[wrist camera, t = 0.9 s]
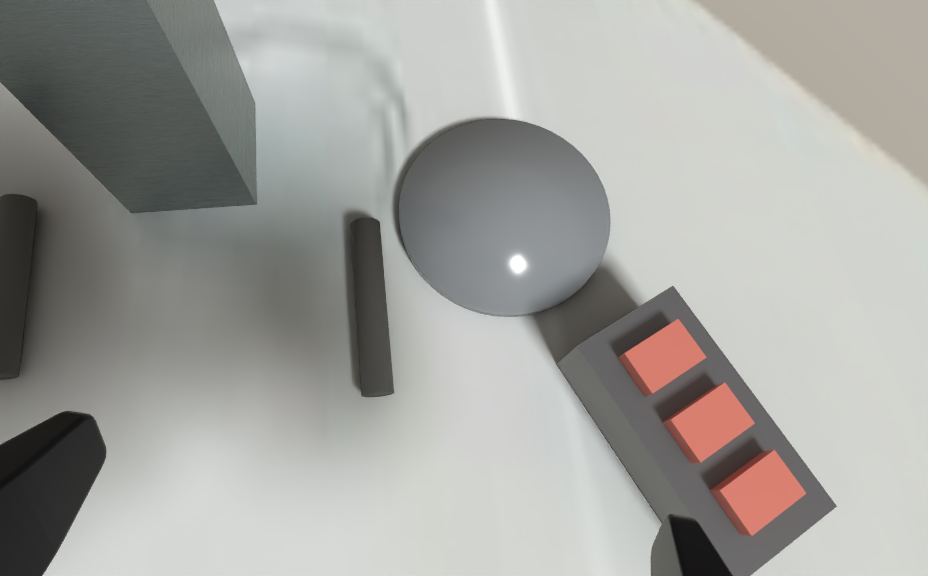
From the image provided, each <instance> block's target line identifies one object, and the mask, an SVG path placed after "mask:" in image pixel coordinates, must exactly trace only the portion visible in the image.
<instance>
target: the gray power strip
mask: <svg viewBox="0 0 928 576" xmlns="http://www.w3.org/2000/svg"><path fill="white" fill-rule="evenodd" d="M557 365H558V367H559V368H560V370H561V372H562V373H563V375H564V376H565V378H566V379H567V381H568V382H569V384H570V385H571V387H572V388H573V390H574V391H575V393H576V394H577V396H578V397H579V399H580V400H581V402H582V403H583V405H584V406H585V408H586V409H587V411H588V412H589V414H590V415H591V417H592V418H593V420H594V421H595V423H596V424H597V426H598V427H599V429H600V430H601V432H602V433H603V435H604V436H605V438H606V439H607V441H608V442H609V444H610V445H611V447H612V448H613V450H614V451H615V453H616V454H617V456H618V457H619V459H620V460H621V462H622V463H623V465H624V466H625V468H626V469H627V471H628V473H629V474H630V476H631V477H632V479H633V480H634V482H635V483H636V485H637V486H638V488H639V489H640V491H641V492H642V494H643V495H644V497H645V498H646V500H647V501H648V503H649V504H650V506H651V507H652V509H653V510H654V512H655V513H656V515H657V516H658V518H659V519H660V521H661V522H663V520H664V518H665V517H666V516H667V515H668V514H676V515H682V516H688V517H692V518H694V519H696V520H697V521H698V522H699V523H700V525H701V526H702V528H703V529H704V531H705V532H706V534H707V535H708V537H709V539H710V540H711V542H712V543H713V545H714V546H715V548H716V549H717V551H718V552H719V554H720V556H721V557H722V559H723V560H724V562H725V563H726V565H727V566H728V568H729V569H730V571H731V573H732V574H733V576H750V575H752V574H753V573H754V572H755V571H757V570H758V569H759V568H760V567H762V566H763V565H764V564H765V563H767V562H768V561H769V560H770V559H772V558H773V557H774V556H775V555H777V554H778V553H779V552H780V551H782V550H783V549H784V548H785V547H787V546H788V545H789V544H790V543H792V542H793V541H794V540H795V539H797V538H798V537H799V536H800V535H802V534H803V533H804V532H805V531H807V530H808V529H809V528H810V527H812V526H813V525H814V524H815V523H817V522H818V521H819V520H820V519H822V518H823V517H824V516H825V515H827V514H828V513H829V512H830V511H832V510H833V509H834V508H835V507H837V506H836V504H835V503H834V502H833V500H832V499H831V498H830V496H829V495H828V494H827V492H826V491H825V490H824V488H823V487H822V486H821V484H820V483H819V482H818V480H817V479H816V478H815V476H814V475H813V474H812V472H811V471H810V469H809V468H808V467H807V465H806V464H805V463H804V461H803V460H802V459H801V457H800V456H799V455H798V453H797V452H796V451H795V449H794V448H793V447H792V445H791V444H790V443H789V441H788V440H787V438H786V437H785V436H784V434H783V433H782V432H781V430H780V429H779V428H778V426H777V425H776V424H775V422H774V421H773V420H772V418H771V417H770V416H769V414H768V413H767V412H766V410H765V409H764V408H763V406H762V405H761V403H760V402H759V401H758V399H757V398H756V397H755V395H754V394H753V393H752V391H751V390H750V389H749V387H748V386H747V385H746V383H745V382H744V381H743V379H742V378H741V377H740V375H739V374H738V372H737V371H736V370H735V368H734V367H733V366H732V364H731V363H730V362H729V360H728V359H727V358H726V356H725V355H724V354H723V352H722V351H721V350H720V348H719V347H718V346H717V344H716V343H715V342H714V340H713V339H712V337H711V336H710V335H709V333H708V332H707V331H706V329H705V328H704V327H703V325H702V324H701V323H700V321H699V320H698V319H697V317H696V316H695V315H694V313H693V312H692V311H691V309H690V308H689V306H688V305H687V304H686V302H685V301H684V300H683V298H682V297H681V296H680V294H679V293H678V292H677V290H676V289H675V288H674V286H672V287H670V288H669V289H667V290H665V291H664V292H662V293H660V294H659V295H657V296H656V297H654V298H652V299H651V300H649V301H648V302H646V303H644V304H643V305H641V306H640V307H638V308H636V309H635V310H633V311H632V312H630V313H628V314H627V315H625V316H624V317H622V318H620V319H619V320H617V321H616V322H614V323H612V324H611V325H609V326H608V327H606V328H604V329H603V330H601V331H599V332H598V333H596V334H595V335H593V336H591V337H590V338H588V339H587V340H585V341H583V342H582V343H580V344H579V345H577V346H576V347H575V348H574V349H573V350H571V351H570V352H569V353H568V354H567V355H566V356H565V357H564V358H563V359H562V360H560V361H559V362H558V363H557Z"/></svg>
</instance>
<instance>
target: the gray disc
mask: <svg viewBox="0 0 928 576" xmlns="http://www.w3.org/2000/svg"><path fill="white" fill-rule="evenodd" d="M399 222H400V231H401V236H402V240H403V243H404V246H405V249H406V251H407V254H408V256H409V258H410V260H411V261H412V263H413V265H414V267H415V268H416V269H417V271H418V272H419V274H420V275H421V276H422V277H423V278H424V280H425V281H426V282H427V283H428V284H429V285H430V286H431V287H432V288H433V289H435V290H436V291H437V292H438V293H440V294H441V295H442V296H444V297H445V298H447V299H449V300H450V301H452V302H453V303H455V304H457V305H459V306H462V307H464V308H466V309H469V310H472V311H475V312H478V313H481V314H487V315H492V316H503V317H515V316H526V315H530V314H535V313H539V312H542V311H545V310H548V309H551V308H553V307H555V306H557V305H558V304H560V303H562V302H564V301H565V300H567V299H568V298H570V297H571V296H573V295H574V294H575V293H576V292H577V291H578V290H579V289H580V288H581V287H582V286H583V285H584V284H585V283H586V282H587V280H588V279H589V278H590V277H591V276H592V274H593V273H594V272H595V270H596V269H597V267H598V265H599V264H600V262H601V260H602V258H603V255H604V253H605V250H606V247H607V243H608V239H609V234H610V209H609V204H608V199H607V196H606V193H605V190H604V187H603V185H602V183H601V181H600V179H599V177H598V175H597V173H596V172H595V170H594V169H593V167H592V166H591V164H590V163H589V162H588V161H587V159H586V158H585V157H584V156H583V155H582V154H581V153H580V152H579V151H578V150H577V149H576V148H575V147H574V146H573V145H571V144H570V143H568V142H567V141H566V140H564V139H563V138H561V137H560V136H558V135H556V134H554V133H553V132H551V131H549V130H546V129H544V128H542V127H539V126H536V125H533V124H530V123H527V122H522V121H516V120H507V119H487V120H481V121H474V122H471V123H467V124H464V125H461V126H458V127H456V128H454V129H451V130H449V131H447V132H446V133H444V134H442V135H440V136H439V137H438V138H436V139H435V140H434V141H432V142H431V143H430V144H429V145H428V146H427V147H426V148H425V149H424V150H423V151H422V152H421V153H420V154H419V155H418V156H417V158H416V159H415V160H414V162H413V163H412V165H411V167H410V169H409V170H408V172H407V174H406V177H405V180H404V182H403V185H402V189H401V194H400V200H399Z"/></svg>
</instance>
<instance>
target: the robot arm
mask: <svg viewBox="0 0 928 576" xmlns="http://www.w3.org/2000/svg"><path fill="white" fill-rule="evenodd" d="M105 458H106V446H105V443H104V441H103V438H102V436H101V433H100V430H99V428H98V425H97V423H96V420H95V419H94V417H93V416H91V415H90V414H85V413H79V412H73V411H65V412H62V413H59V414H57V415H55V416H53V417H51V418H50V419H48V420H46V421H44V422H42V423H40V424H38V425H36V426H35V427H33V428H31V429H29V430H27V431H25V432H23V433H21V434H20V435H18V436H16V437H14V438H12V439H10V440H8V441H6V442H5V443H3V444H1V445H0V576H42V575H43V574H44V572H45V571H46V569H47V568H48V566H49V564H50V563H51V561H52V559H53V558H54V556H55V555H56V553H57V551H58V549H59V548H60V546H61V544H62V542H63V541H64V539H65V537H66V535H67V533H68V531H69V529H70V527H71V525H72V523H73V522H74V520H75V518H76V516H77V514H78V512H79V510H80V508H81V506H82V504H83V502H84V500H85V498H86V497H87V495H88V493H89V491H90V489H91V487H92V485H93V483H94V481H95V479H96V477H97V475H98V474H99V472H100V470H101V468H102V466H103V464H104V461H105ZM651 576H733V574H732V573H731V571H730V569H729V568H728V566H727V565H726V563H725V562H724V560H723V559H722V557H721V556H720V554H719V552H718V551H717V549H716V548H715V546H714V545H713V543H712V542H711V540H710V539H709V537H708V535H707V534H706V532H705V531H704V529H703V528H702V526H701V525H700V523H699V522H698V521H697V520H696V519H694V518H692V517H688V516H682V515H676V514H668V515H667V516H666V517H665V518H664V520H663V522H662V525H661V527H660V529H659V532H658V534H657V536H656V539H655V541H654V543H653V546H652V551H651Z"/></svg>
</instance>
